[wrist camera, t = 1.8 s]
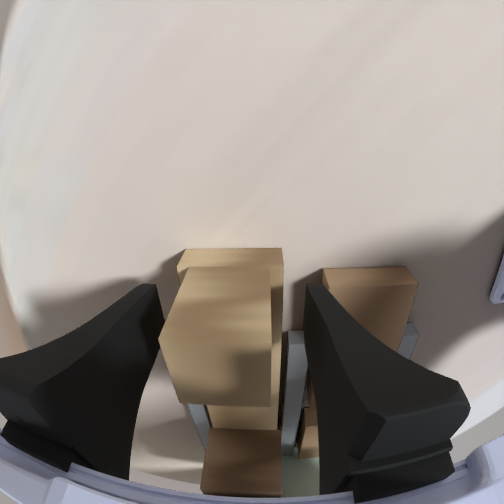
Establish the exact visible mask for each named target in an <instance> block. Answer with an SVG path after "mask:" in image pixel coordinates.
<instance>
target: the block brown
mask: <svg viewBox="0 0 504 504" xmlns="http://www.w3.org/2000/svg"><path fill="white" fill-rule="evenodd" d="M322 284H323V285H324V286H325V287H326V288H327V289H328V290H329V292H330V293H331V294H332V295H333V296H334V297H335V299H336V300H337V301H338V302H339V303H340V304H341V305H342V306H343V307H344V309H345V310H346V311H347V312H348V313H349V314H350V315H351V316H352V317H353V318H354V319H355V320H356V321H357V322H358V323H359V324H360V325H362V326H363V327H364V328H365V329H366V330H367V331H368V332H370V333H371V334H372V335H373V336H375V337H376V338H377V339H378V340H380V341H381V342H382V343H384V344H385V345H386V346H388V347H389V348H391V349H392V350H394V351H396V352H397V350H398V347H399V344H400V342H401V339H402V336H403V333H404V330H405V327H406V324H407V321H408V318H409V315H410V312H411V309H412V305H413V302H414V299H415V295H416V292H417V288H418V284H419V283H418V282H417V281H416V279H415V278H414V277H413V275H412V274H411V273H410V272H409V270H408V269H407V268H406V266H404V267H371V268H330V269H323V275H322ZM307 392H308V401H309V410H316V401H315V395H314V390H313V385H312V380H311V375H310V378H309V384H308V390H307Z"/></svg>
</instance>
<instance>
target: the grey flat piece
mask: <svg viewBox="0 0 504 504" xmlns="http://www.w3.org/2000/svg"><path fill="white" fill-rule="evenodd" d="M418 336H419V333H418V331H417V330H416V328H415V326H414V324H413V323H407V324H406V327H405V330H404V333H403V336H402V339H401V342H400V344H399V347H398V350H397V353H399V354H400V355H402V356H404V357H405V358H407V359H410V356H411V354H412V351H413V349H414V346H415V344H416V341H417V339H418ZM307 366H308V361H307V356H306V351H305V344H304V333H303V330H293V331H288V341H287V358H286V373H285V387H284V400H283V413H282V424H281V456H292V455H293V450H294V445H295V440H296V434H297V429H298V423H299V418H300V412H301V406H302V400H303V393H304V387H305V380H306V374H307ZM187 404H188V403H187ZM188 407H189V410H190V412H191V415H192V418H193V421H194V423H195V426H196V429H197V431H198V434H199V437H200V439H201V442H202V444H203V447H204V449H205V452H206V445H207V439H208V432H209V428H213V426H212V422H211V419H210V415H209V411H208V408H207V405H199V404H188ZM297 444H298V459H305V458H319V442H318V424H317V411H316V410H309V408H304V413H303V418H302V423H301V428H300V433H299V438H298V443H297Z"/></svg>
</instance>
